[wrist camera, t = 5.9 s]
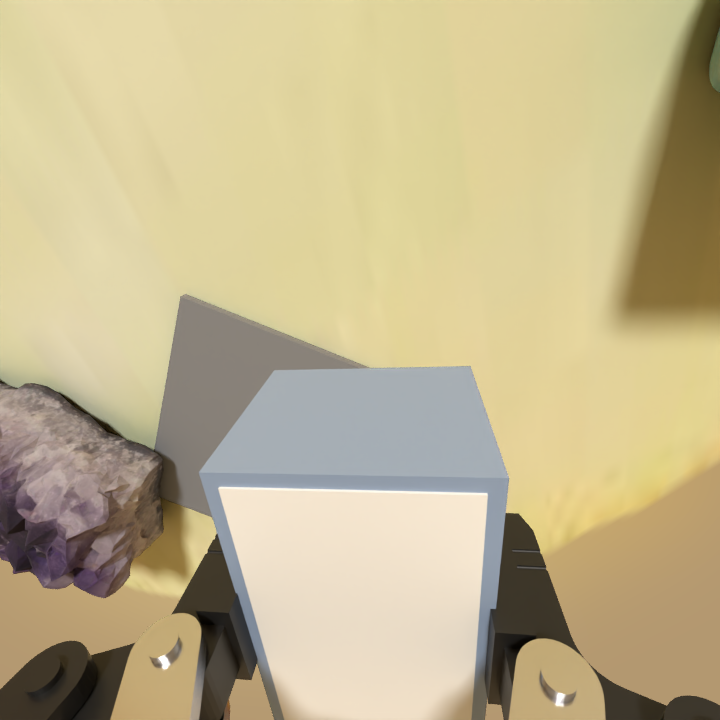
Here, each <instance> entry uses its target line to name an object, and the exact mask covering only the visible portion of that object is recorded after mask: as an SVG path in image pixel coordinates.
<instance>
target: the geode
mask: <svg viewBox="0 0 720 720" xmlns="http://www.w3.org/2000/svg"><path fill="white" fill-rule="evenodd" d="M163 470H164V469H163V459H162V458H161V456H160V455H158V454H157V453H155V452H153V451H152V450H151V449H149V448H148V447H146V446H145V445H142V444H139V443H135V442H131V441H127V440H126V439H124V438H122V437H120V436H117V435H114V434H111V433H108V432H106V431H105V430H104V429H103V428H102V427H101V426H100V425H99V424H98V423H97V422H96V421H95V420H94V419H93V418H92V417H91V416H90V415H88V414H86V413H84V412H82V411H80V410H79V409H77V408H75V407H74V406H73V405H71V404H70V403H69V402H68V401H67V400H66V399H65V398H64V397H62V396H61V395H60V394H59V393H57V392H56V391H54V390H52V389H51V388H49V387H47V386H43V385H38V384H34V383H30V384H24V385H23V386H21V387H20V388H15V387H12V386H9V385H6V384H3V383H0V558H1V559H2V560H5V561H8V562H10V563H11V565H12V567H13V573H14V574H17V573H22V572H31V573H33V574H34V575H36V576H37V578H38V579H39V581H40V583H41V584H42V586H43V587H44V588H50V589H60V588H65V587H67V586H68V585H70V584H72V583H73V582H74V586H76V587H78V588H80V589H81V590H83V591H86V592H87V593H89V594H92V595H94V596H97V597H101V598H106V597H108V596H110V595H112V594H113V593H115V592H116V591H117V590H118V589H119V588H121V587H122V586H123V584H124V583H125V582H126V580H127V579H128V578H129V576H130V566H131V562H132V561H133V559H134V558H136V557H137V556H139V555H140V554H141V553H142V552H143V551H144V550H145V549H147V548H148V547H149V546H150V545H151V544H152V542H153V541H155V540H156V539H157V538H158V537H159V536H160V535H161V534H162V533H163V530H164V528H163V509H162V507H161V502H160V498H159V495H158V493H159V490H160V487H161V485H160V482H161V479H162V475H163Z"/></svg>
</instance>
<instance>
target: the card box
mask: <svg viewBox="0 0 720 720" xmlns="http://www.w3.org/2000/svg"><path fill="white" fill-rule="evenodd" d="M199 475H200V478H201V481H202V485H203V488H204V491H205V494H206V498H207V501H208V504H209V508H210V511H211V514H212V517H213V521H214V524H215V527H216V530H217V534H218V537H219V540H220V544H221V547H222V550H223V553H224V557H225V560H226V563H227V566H228V570H229V573H230V576H231V579H232V583H233V586H234V589H235V593H237V594H238V597H239V600H240V604H241V607H242V610H243V613H244V617H245V620H246V623H247V626H248V630H249V633H250V636H251V639H252V643H253V646H254V649H255V652H256V656H257V659H258V661H257V665H258V668H259V671H260V674H261V677H262V681H263V684H264V687H265V691H266V694H267V697H268V700H269V704H270V707H271V710H272V713H273V717H274V720H485V714H486V704H487V692H486V686H485V667H486V655H487V643H488V631H489V620H490V609H496V604H497V594H498V584H499V574H500V564H501V554H502V544H503V534H504V523H505V513H506V503H507V493H508V483H509V477H508V474H507V471H506V468H505V465H504V462H503V459H502V456H501V453H500V451H499V448H498V445H497V442H496V439H495V436H494V433H493V430H492V427H491V424H490V422H489V419H488V416H487V413H486V410H485V407H484V404H483V401H482V398H481V395H480V393H479V390H478V387H477V384H476V381H475V378H474V375H473V372H472V369H471V366H460V367H410V368H360V369H310V370H274V371H273V373H272V374H271V375H270V377H269V378H268V380H267V381H266V382H265V384H264V385H263V386H262V388H261V389H260V390H259V392H258V393H257V394H256V396H255V397H254V398H253V400H252V401H251V402H250V404H249V405H248V407H247V408H246V409H245V411H244V412H243V413H242V415H241V416H240V417H239V419H238V420H237V421H236V423H235V424H234V425H233V427H232V428H231V430H230V431H229V432H228V434H227V435H226V436H225V438H224V439H223V440H222V442H221V443H220V444H219V446H218V447H217V448H216V450H215V451H214V452H213V454H212V455H211V457H210V458H209V459H208V461H207V462H206V463H205V465H204V466H203V467H202V469H201V470H200V471H199Z"/></svg>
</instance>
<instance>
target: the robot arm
mask: <svg viewBox="0 0 720 720" xmlns="http://www.w3.org/2000/svg"><path fill="white" fill-rule="evenodd" d="M257 661H258V659H257V656H256V652H255V649H254V646H253V643H252V639H251V636H250V633H249V630H248V626H247V623H246V620H245V617H244V613H243V610H242V607H241V604H240V600H239V597H238V594H237V593H235V589H234V586H233V583H232V579H231V576H230V573H229V570H228V566H227V563H226V560H225V557H224V553H223V550H222V547H221V544H220V540H219V537H218V534H216V536H215V540H213V542H212V543H211V545H210V547H209V549H208V553H207V554H205V556H204V558H203V560H202V561H201V563H200V565H199V567H198V569H197V570H196V572H195V574H194V576H193V577H192V579H191V581H190V583H189V585H188V586H187V588H186V590H185V592H184V594H183V595H182V597H181V599H180V601H179V603H178V604H177V607H176V608H175V610H174V611H173V613H172V614H171V615H169V616H166V617H164V618H162V619H160V620H158V621H157V622H156V623H154V624H153V625H151V626H150V627H149V628H148V629H147V630H146V631H145V632H144V633H143V634H142V635H141V636H140V637H139V638H138V640H137V641H136V643H133V644H130V645H127V646H123V647H120V648H116V649H112V650H109V651H105V652H102V653H98V654H94V655H90V654H89V652H88V650H87V649H86V647H85V646H84V645H83V644H82V643H80V642H77V641H66V642H62V643H59V644H56V645H54V646H51V647H50V648H48V649H46V650H44V651H43V652H41V653H40V654H38V655H37V656H35V657H34V658H33V659H32V660H30V661H29V662H28V663H27V664H26V665H25V666H24V667H23V668H22V669H21V670H20V671H19V672H18V673H17V674H16V675H15V676H14V677H13V678H12V679H10V681H9V682H7V683H6V685H4V686H3V688H1V689H0V720H230V703H229V696H230V694H231V691H232V688H233V685H234V682H235V679H245V680H251V679H252V676H253V673H254V670H255V667H256V664H257ZM485 686H486V692H487V699H488V704H498V705H501V706H502V712H503V717H504V720H720V705H718V704H716V703H714V702H712V701H709V700H707V699H704V698H700V697H697V696H680V697H677V698H675V699H673V700H672V701H671V702H670V703H669V704H668V705H667V706H666V705H664V704H661V703H659V702H656V701H654V700H651V699H649V698H647V697H644V696H642V695H639V694H637V693H634V692H632V691H629V690H627V689H625V688H623V687H620V686H618V685H616V684H614V683H613V682H611V681H609V680H608V679H606V678H605V677H604V676H602V675H601V674H600V673H598V672H597V671H596V670H595V669H594V668H593V667H592V666H591V665H590V664H589V663H588V662H587V661H586V660H585V659H584V658H583V656H582V655H581V653H580V652H579V650H578V649H577V647H576V645H575V644H574V642H573V639H572V637H571V635H570V632H569V629H568V626H567V623H566V621H565V618H564V615H563V612H562V609H561V607H560V604H559V601H558V598H557V596H556V593H555V590H554V587H553V584H552V582H551V579H550V576H549V574H548V571H547V570H546V565H545V562H544V560H543V557H542V554H540V548H539V546H538V543H537V540H536V537H535V535H534V532H533V530H532V529H531V528H530V526H529V525H528V524H527V523H526V522H525V521H524V519H523V518H522V517H521V516H520V515H519V514H513V513H505V523H504V534H503V544H502V554H501V564H500V574H499V584H498V594H497V604H496V609H490V620H489V631H488V643H487V655H486V667H485Z"/></svg>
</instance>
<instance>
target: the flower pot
mask: <svg viewBox="0 0 720 720" xmlns="http://www.w3.org/2000/svg"><path fill="white" fill-rule="evenodd" d="M709 78H710V82H711V84H712V87H713V88H714V89H715V90H716V91H717V92H719V93H720V27H719V31H718V34H717V38H716V41H715V45H714V49H713V53H712V57H711V61H710V65H709Z"/></svg>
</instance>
